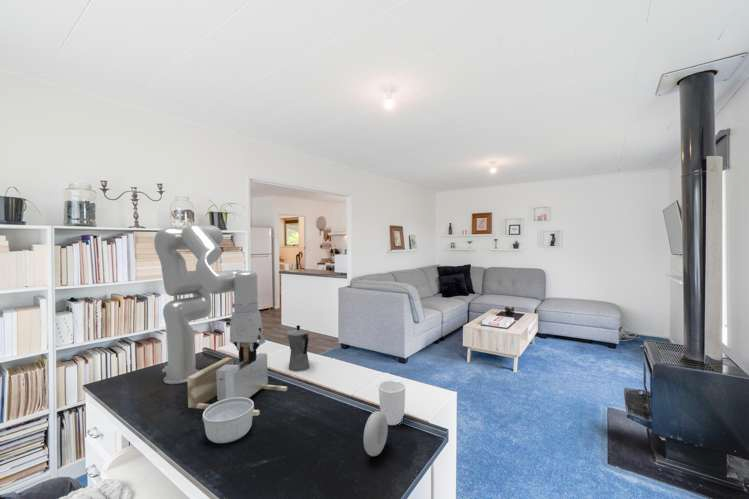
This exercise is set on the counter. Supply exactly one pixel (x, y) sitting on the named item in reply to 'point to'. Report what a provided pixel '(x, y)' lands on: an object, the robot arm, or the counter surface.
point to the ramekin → (228, 419)
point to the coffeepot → (298, 349)
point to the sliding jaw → (247, 375)
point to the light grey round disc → (375, 433)
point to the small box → (222, 381)
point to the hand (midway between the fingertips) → (247, 360)
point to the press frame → (212, 386)
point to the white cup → (392, 401)
